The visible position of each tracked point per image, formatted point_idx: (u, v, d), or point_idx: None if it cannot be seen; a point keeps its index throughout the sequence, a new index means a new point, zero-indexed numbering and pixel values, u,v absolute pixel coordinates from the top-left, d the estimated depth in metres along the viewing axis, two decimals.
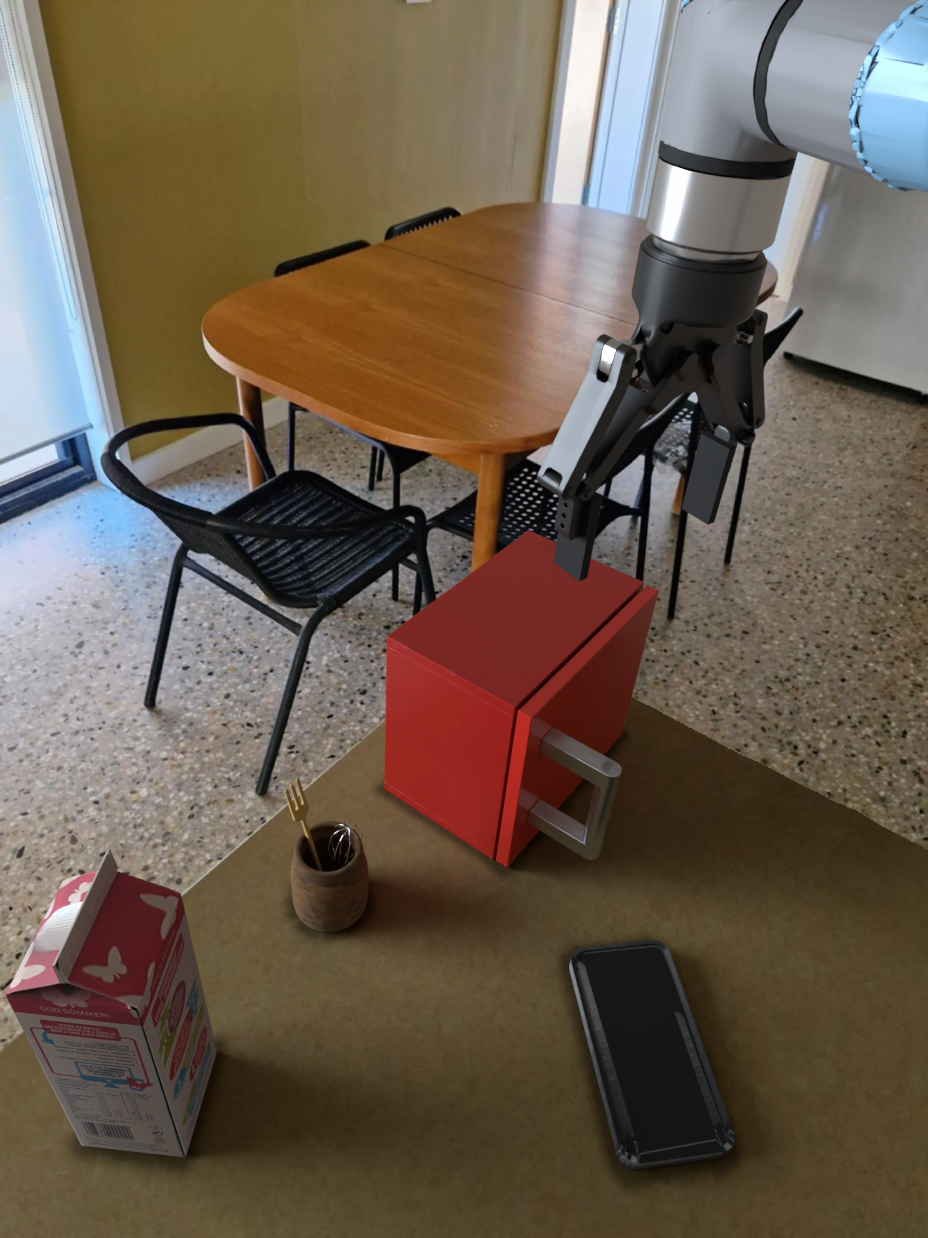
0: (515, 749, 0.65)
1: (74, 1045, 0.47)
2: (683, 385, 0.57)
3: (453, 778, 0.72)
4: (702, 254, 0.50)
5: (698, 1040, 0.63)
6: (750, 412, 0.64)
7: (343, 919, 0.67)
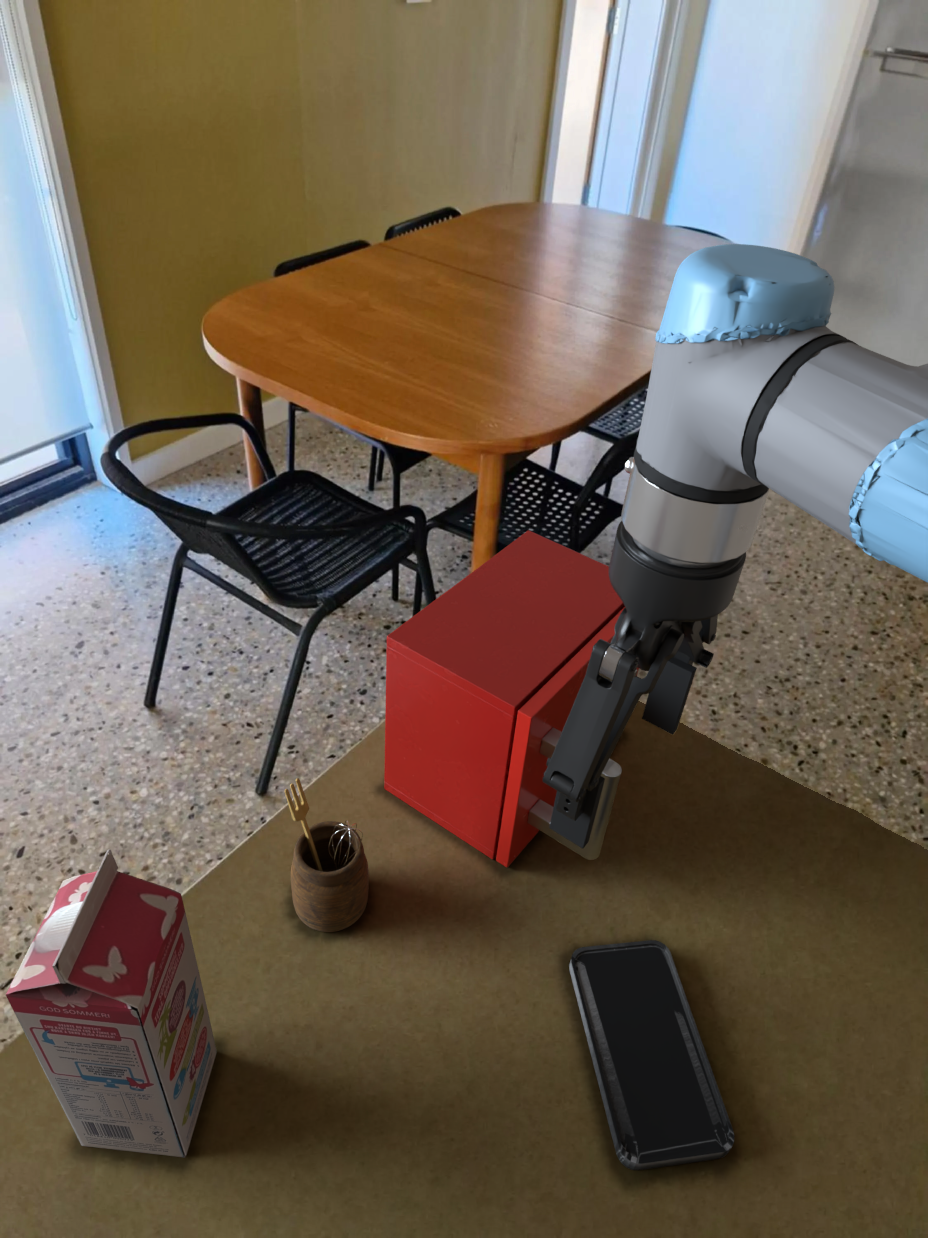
0: (515, 749, 0.65)
1: (74, 1045, 0.47)
2: None
3: (453, 778, 0.72)
4: None
5: (698, 1040, 0.63)
6: (706, 634, 0.64)
7: (343, 919, 0.67)
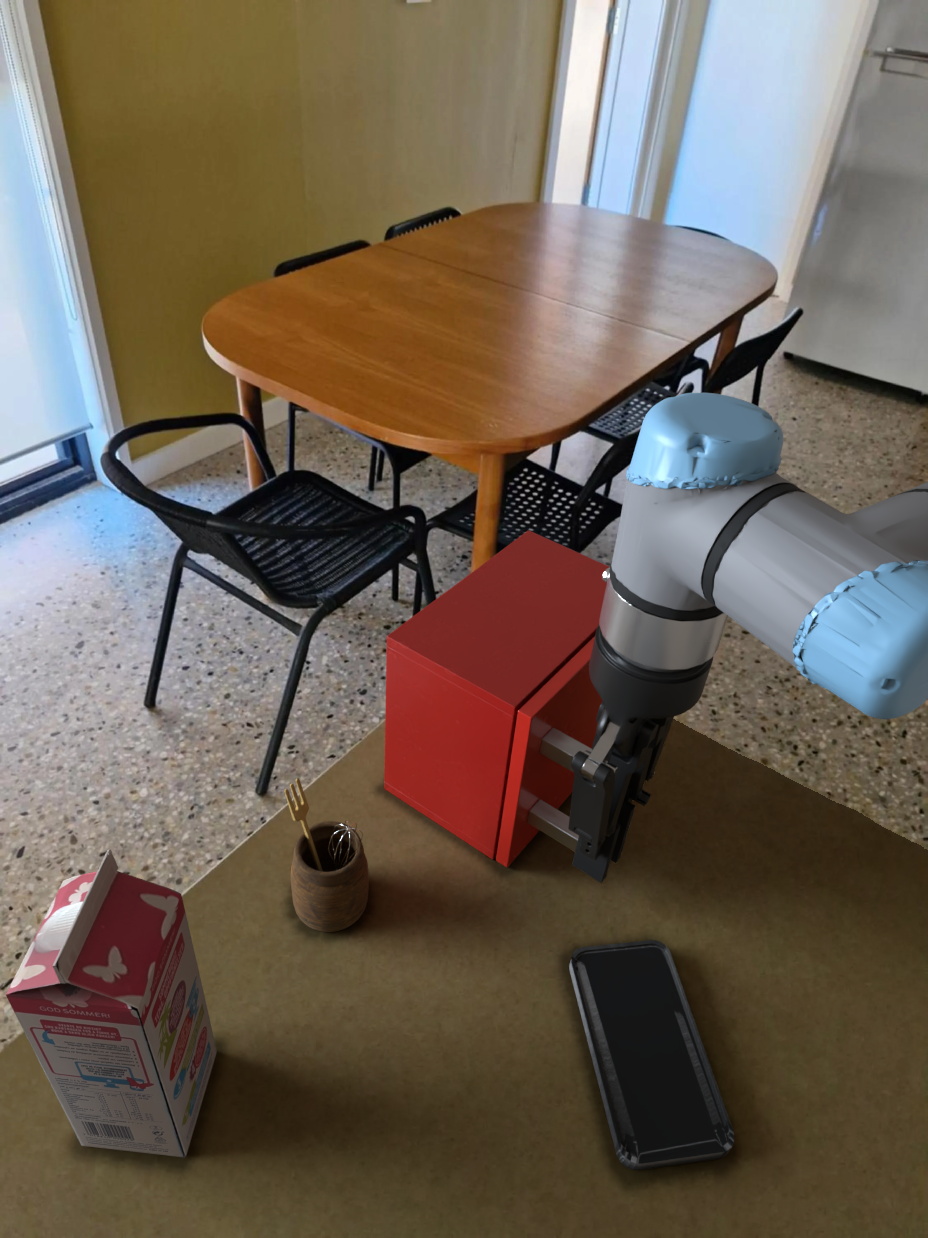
0: (515, 749, 0.65)
1: (74, 1045, 0.47)
2: None
3: (453, 778, 0.72)
4: None
5: (698, 1040, 0.63)
6: (649, 764, 0.67)
7: (343, 919, 0.67)
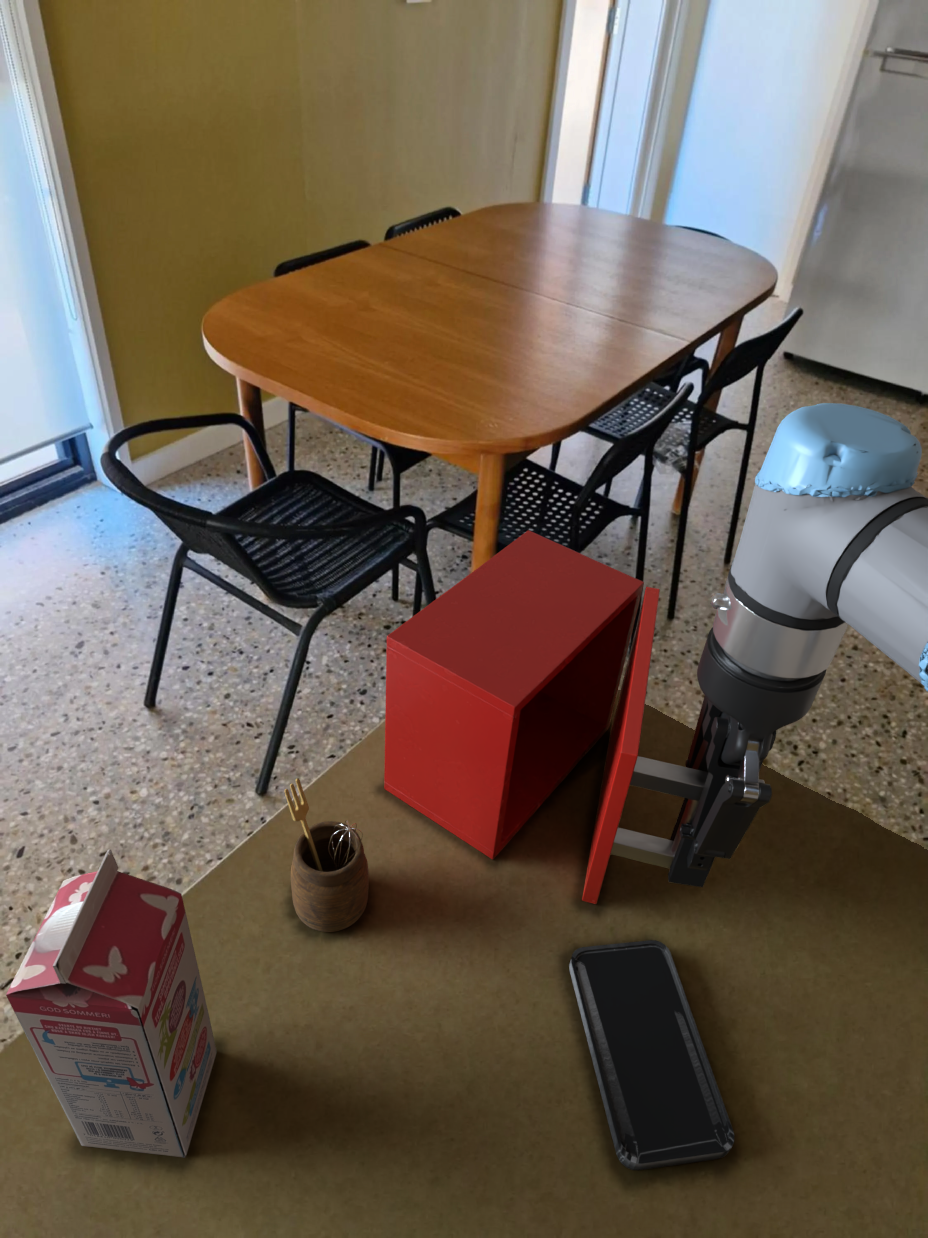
0: (615, 789, 0.63)
1: (74, 1045, 0.47)
2: None
3: (453, 778, 0.72)
4: None
5: (698, 1040, 0.63)
6: None
7: (343, 919, 0.67)
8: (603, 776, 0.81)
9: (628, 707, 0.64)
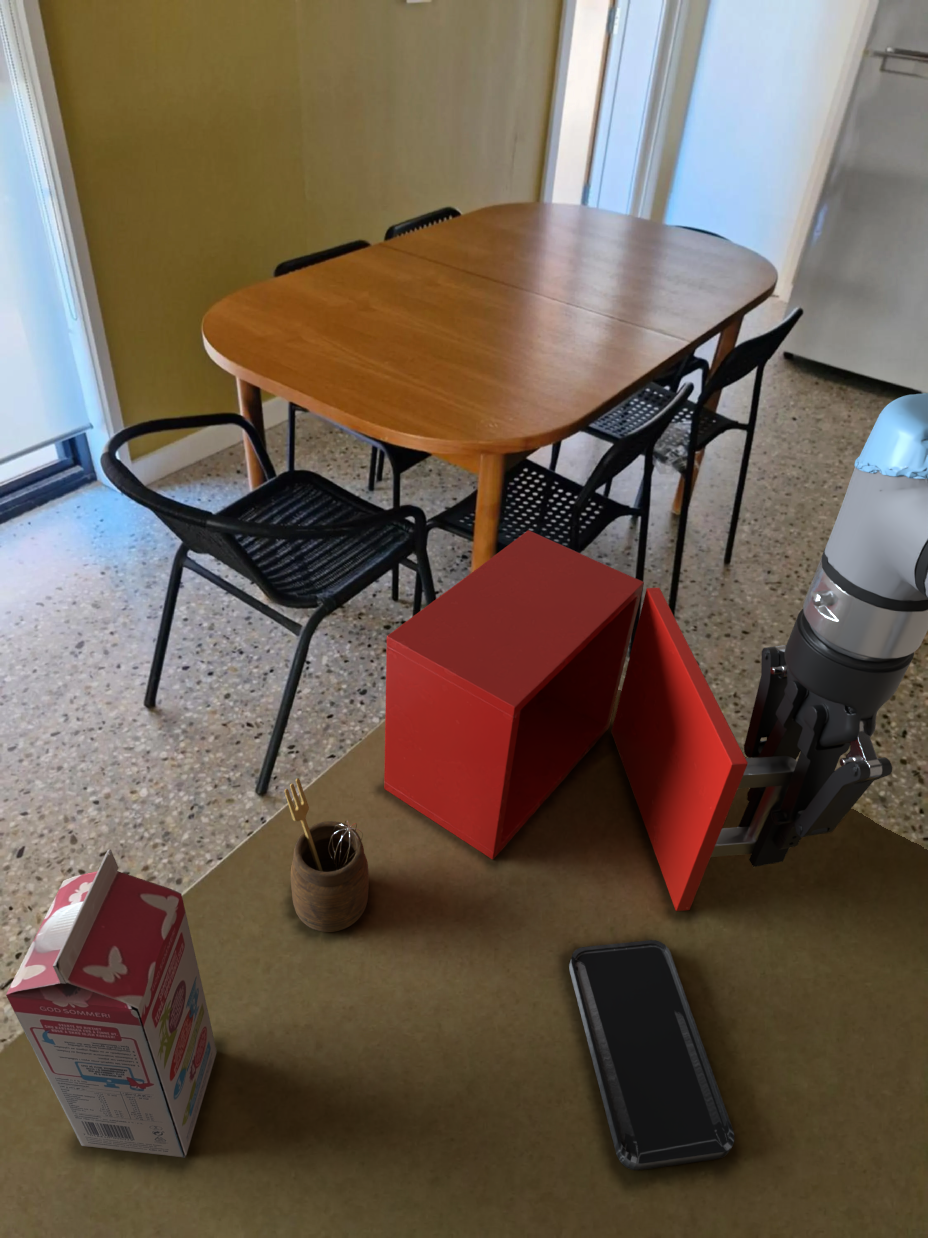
0: (721, 800, 0.63)
1: (74, 1045, 0.47)
2: None
3: (453, 778, 0.72)
4: None
5: (698, 1040, 0.63)
6: None
7: (343, 919, 0.67)
8: (633, 781, 0.81)
9: (709, 716, 0.64)
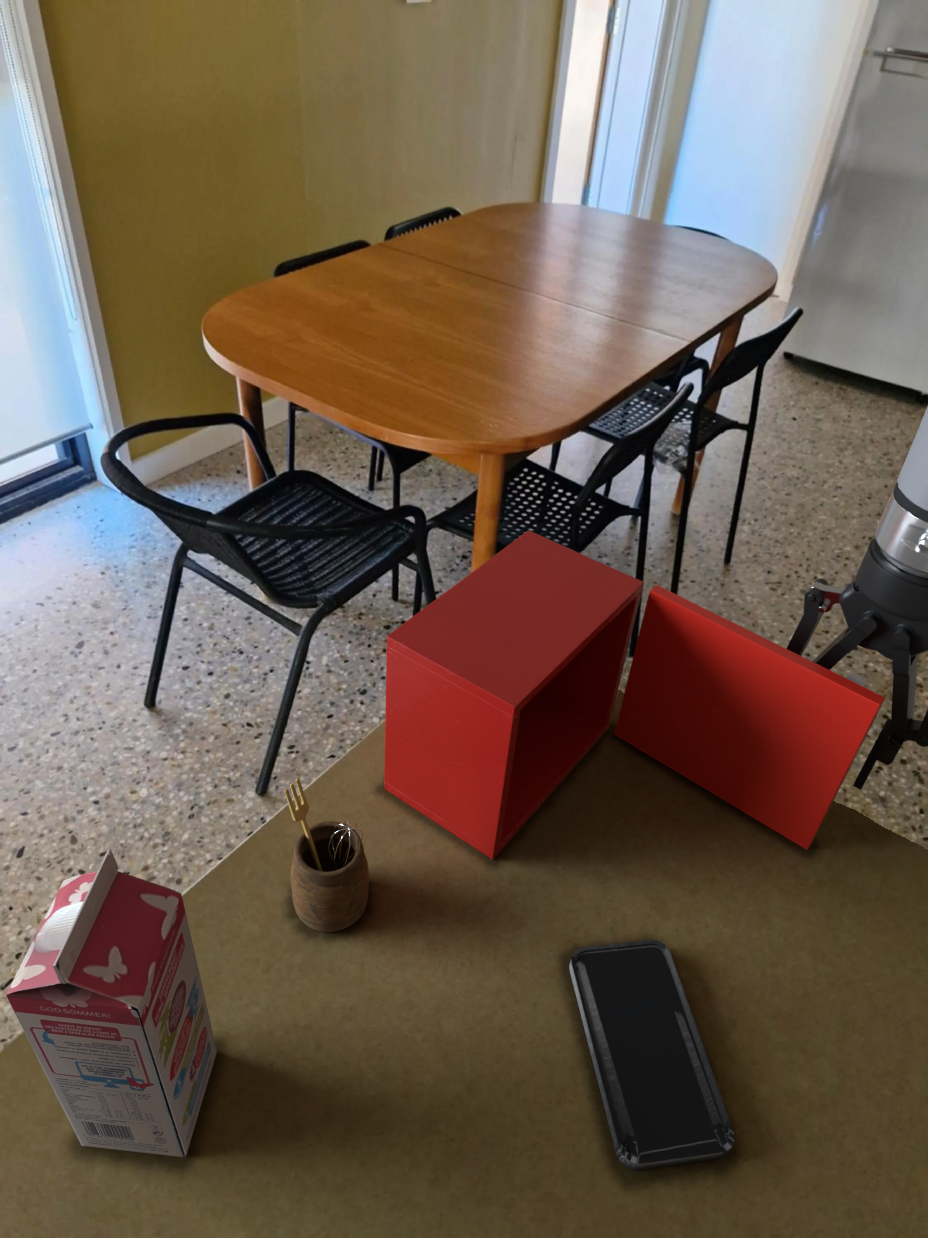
0: (863, 738, 0.69)
1: (74, 1045, 0.47)
2: None
3: (453, 778, 0.72)
4: None
5: (698, 1040, 0.63)
6: None
7: (343, 919, 0.67)
8: (681, 765, 0.83)
9: (822, 676, 0.68)
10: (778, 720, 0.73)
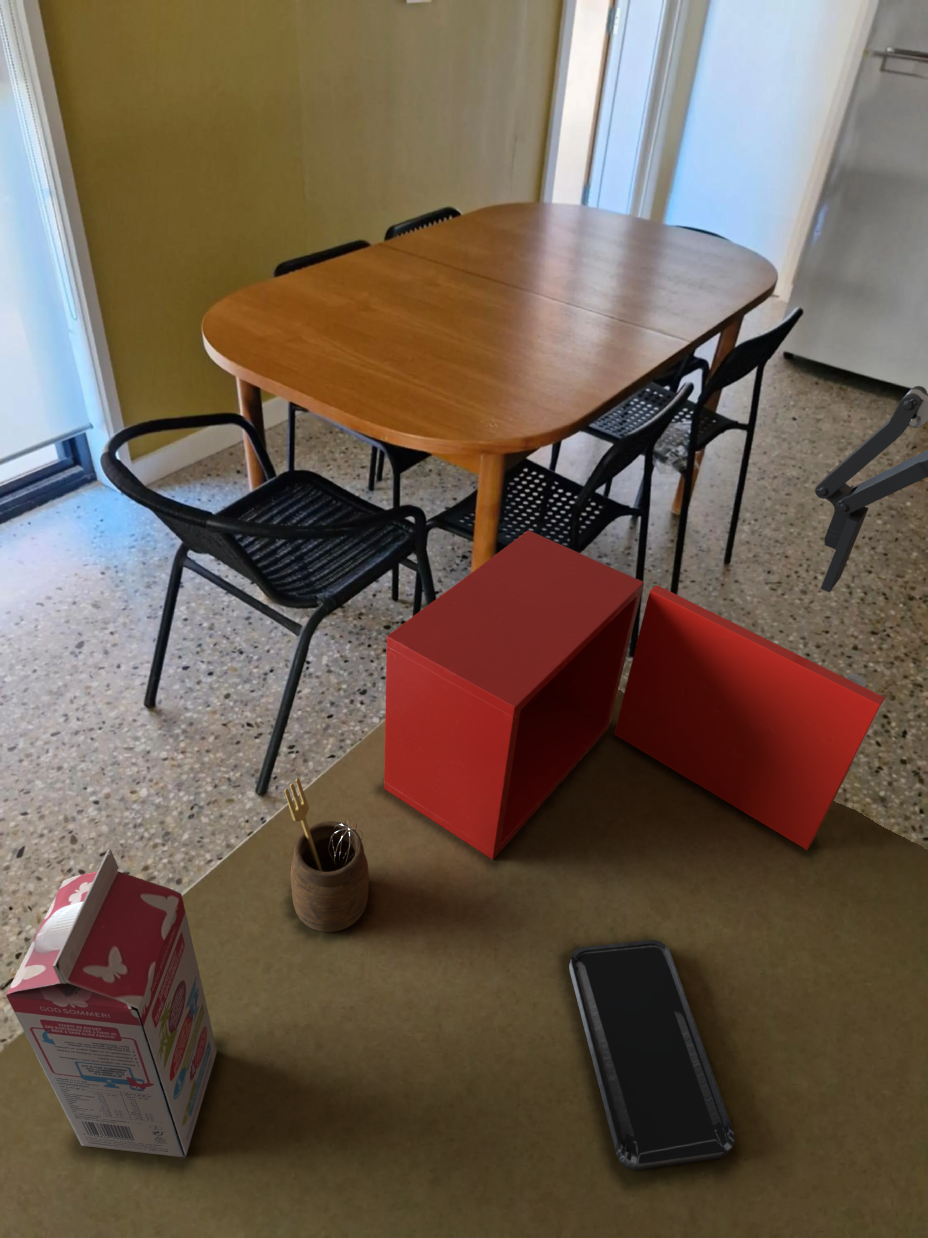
0: (863, 738, 0.69)
1: (74, 1045, 0.47)
2: None
3: (453, 778, 0.72)
4: None
5: (698, 1040, 0.63)
6: None
7: (343, 919, 0.67)
8: (681, 765, 0.83)
9: (822, 676, 0.68)
10: (778, 720, 0.73)
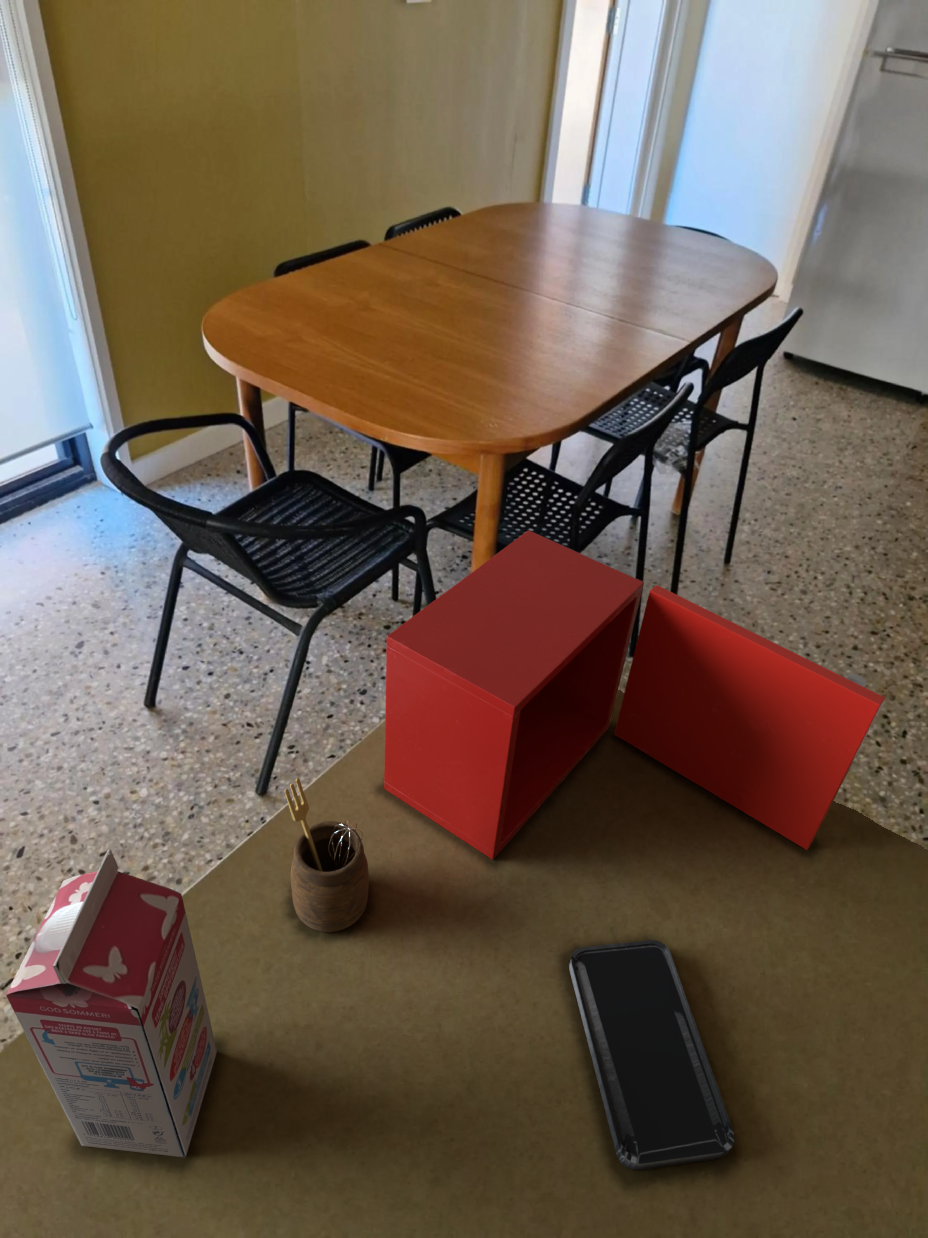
0: (863, 738, 0.69)
1: (74, 1045, 0.47)
2: None
3: (453, 778, 0.72)
4: None
5: (698, 1040, 0.63)
6: None
7: (343, 919, 0.67)
8: (681, 765, 0.83)
9: (822, 676, 0.68)
10: (778, 720, 0.73)
